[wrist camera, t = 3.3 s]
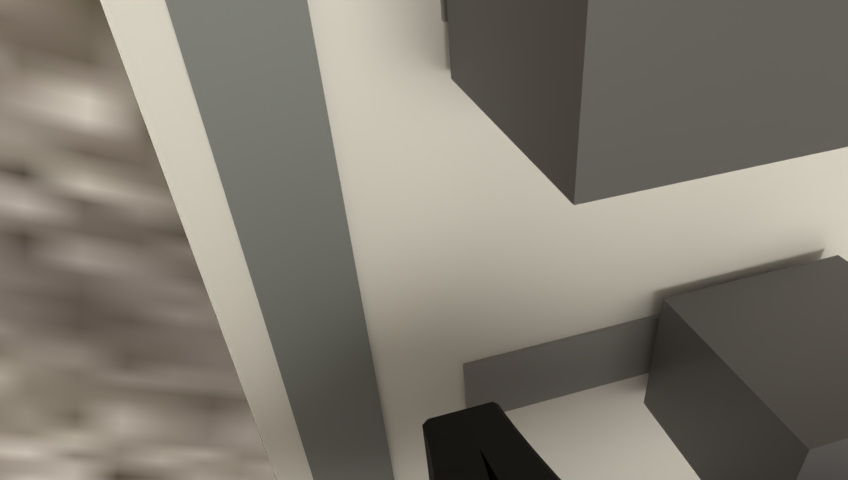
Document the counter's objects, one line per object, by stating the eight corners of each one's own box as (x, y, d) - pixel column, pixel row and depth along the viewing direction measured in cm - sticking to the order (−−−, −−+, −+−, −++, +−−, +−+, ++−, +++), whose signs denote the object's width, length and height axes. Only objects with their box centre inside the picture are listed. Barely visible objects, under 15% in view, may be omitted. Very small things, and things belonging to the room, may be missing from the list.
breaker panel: (850, 408, 22) (1053, 590, 17) (332, 565, 19) (370, 857, 14) (1184, -284, 11) (2110, -428, 6) (85, -199, 8) (-280, -343, 2)
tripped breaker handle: (798, 359, 14) (950, 494, 11) (643, 403, 13) (760, 559, 10) (838, 255, 12) (1030, 381, 9) (663, 298, 11) (809, 450, 8)
